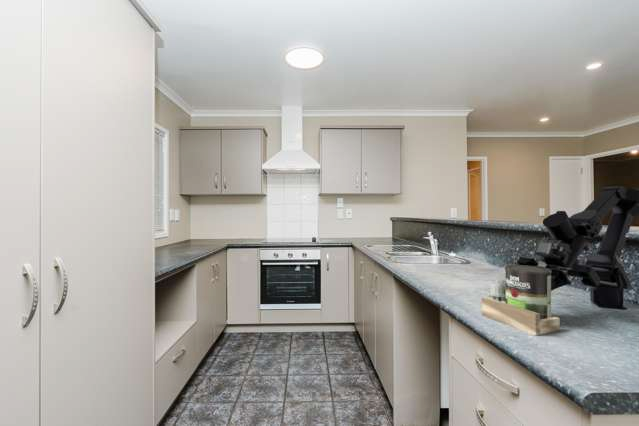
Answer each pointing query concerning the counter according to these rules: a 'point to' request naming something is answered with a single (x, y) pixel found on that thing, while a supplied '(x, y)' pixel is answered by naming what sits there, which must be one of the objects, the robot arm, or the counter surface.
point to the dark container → (529, 288)
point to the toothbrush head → (498, 290)
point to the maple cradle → (518, 317)
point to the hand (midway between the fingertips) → (540, 293)
